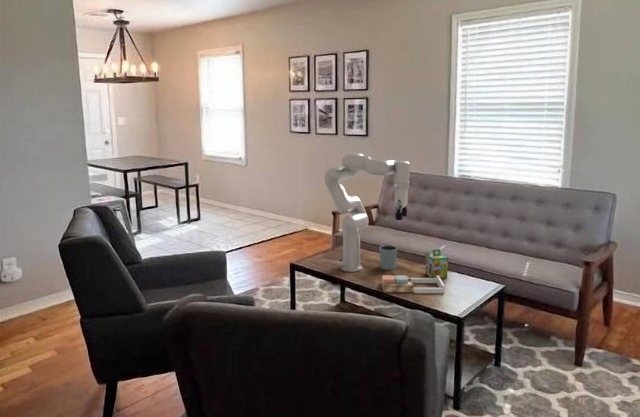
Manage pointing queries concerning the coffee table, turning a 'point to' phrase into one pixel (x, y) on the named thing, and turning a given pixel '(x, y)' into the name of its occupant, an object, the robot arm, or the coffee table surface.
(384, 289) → the wooden tray
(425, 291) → the white u-shaped bracket
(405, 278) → the tile
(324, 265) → the coffee table surface
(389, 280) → the tile
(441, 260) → the chalk box
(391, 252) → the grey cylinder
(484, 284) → the coffee table surface
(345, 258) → the robot arm
